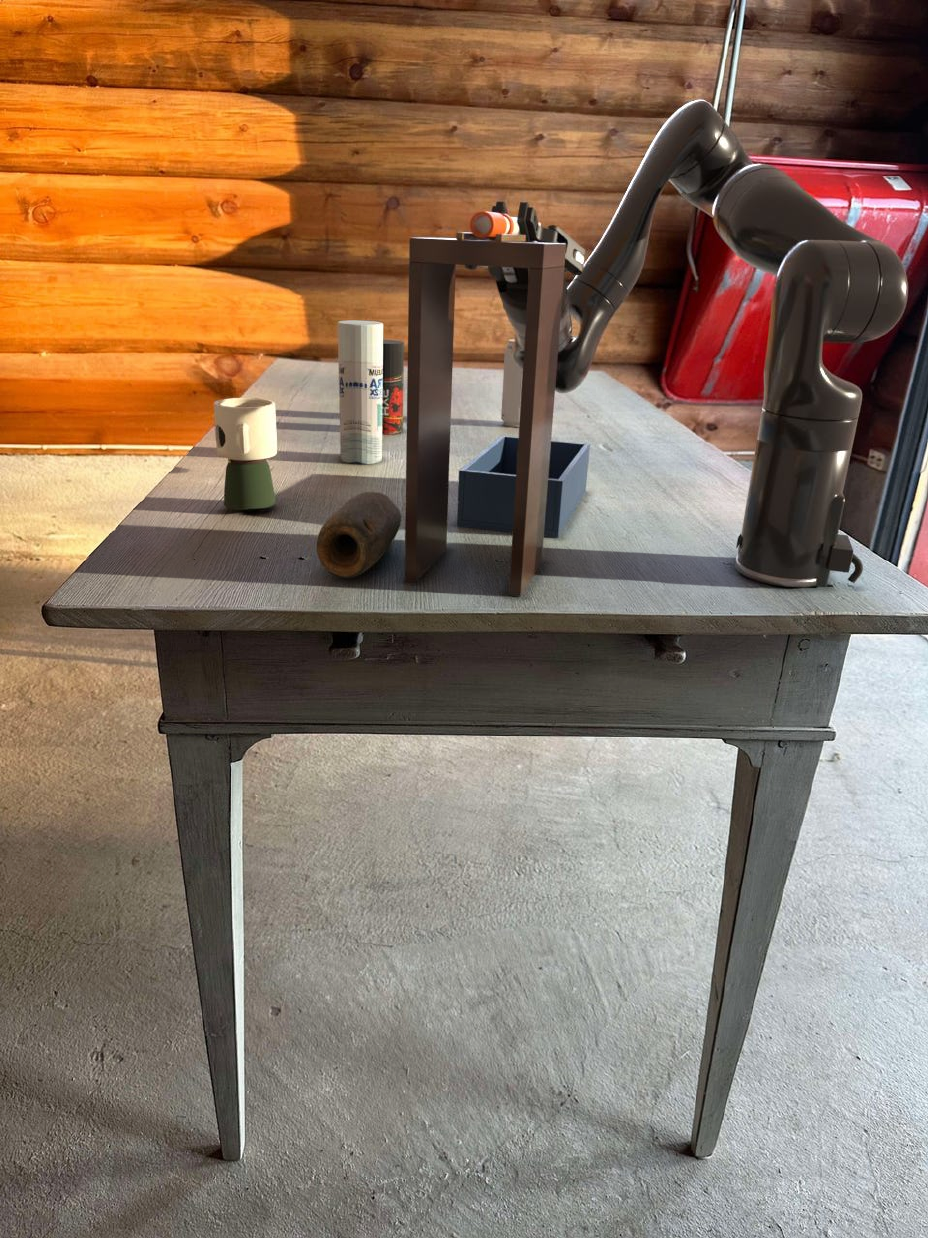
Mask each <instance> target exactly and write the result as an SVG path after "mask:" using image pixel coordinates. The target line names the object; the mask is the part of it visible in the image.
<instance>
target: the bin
mask: <svg viewBox="0 0 928 1238" xmlns="http://www.w3.org/2000/svg"><path fill="white" fill-rule="evenodd" d="M518 440H519V436H513V435H512V436H511V435H510V436H509V435H500V436H499V437H498V438H497V439H494V441H493V442H492V443H490V444H489V445H488V446H487V447H486V448H485V449H483V450H482V451H480V453H478V454H477V455H476V456H475V457H473V458H472V459H471V460H470V461H468V462H467V463H466V464H465V465H464V466H462V467H461V468H460V469H459V470H458V484H457V485H458V487H457V509H456V510H457V515H456V526H457V527H463V528H464V527H465V528H473V529H482V530H489V531H498V532H499V531H500V532H507V533H513V519H514V503H515V487H516V471H517V455H518ZM590 449H591V444H590V443H585V442H576V441H575V442H573V441H564V440H555V439H554V440H553V439H551V449H550V462H549V474H548V487H547V500H546V513H545V526H544V537H548V538H555V539H556V538H557V539H558V538H559V537H560V535H561V534H562V532H563V530H564V529H565V527H566V525H567V523H568V522H569V521H570V519H571V517H572V516H573V514H574V512H575V511H576V509H577V507H578V506H579V504H580V502H581V501H582V499H583V497H584V496H585V495H586V492H587V482H588V470H589V459H590Z"/></svg>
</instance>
